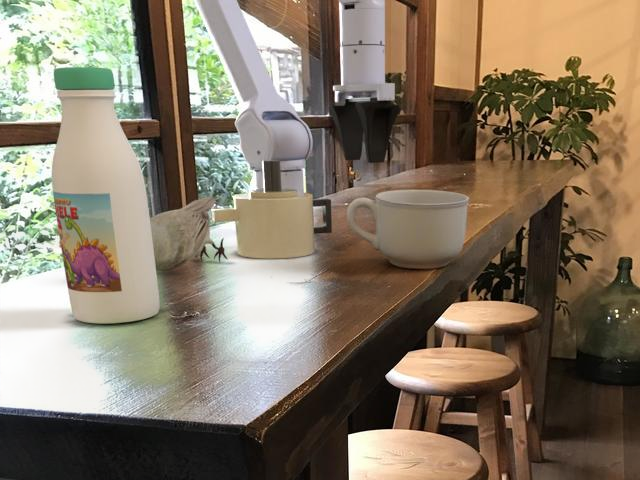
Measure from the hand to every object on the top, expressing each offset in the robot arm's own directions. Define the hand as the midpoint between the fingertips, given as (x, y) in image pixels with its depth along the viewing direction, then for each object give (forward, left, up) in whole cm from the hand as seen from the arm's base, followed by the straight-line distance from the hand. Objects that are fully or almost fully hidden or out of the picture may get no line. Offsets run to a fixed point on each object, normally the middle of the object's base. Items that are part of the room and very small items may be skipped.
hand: (364, 161), depth 109 cm
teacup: (+20, -3, -11) cm, 23 cm away
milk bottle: (+32, -38, -11) cm, 51 cm away
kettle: (+4, -14, -10) cm, 18 cm away
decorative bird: (+12, -29, -11) cm, 33 cm away
